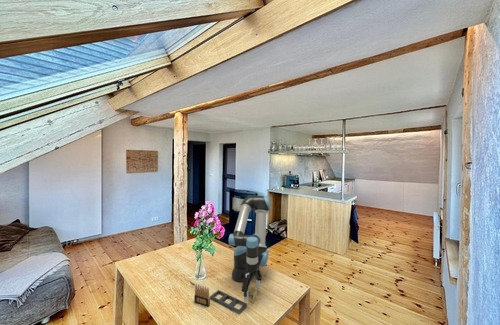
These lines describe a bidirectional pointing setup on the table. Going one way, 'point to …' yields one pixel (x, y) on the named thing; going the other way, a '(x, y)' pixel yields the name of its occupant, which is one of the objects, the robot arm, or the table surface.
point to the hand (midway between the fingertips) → (252, 295)
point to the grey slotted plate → (230, 305)
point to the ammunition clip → (202, 296)
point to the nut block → (252, 295)
